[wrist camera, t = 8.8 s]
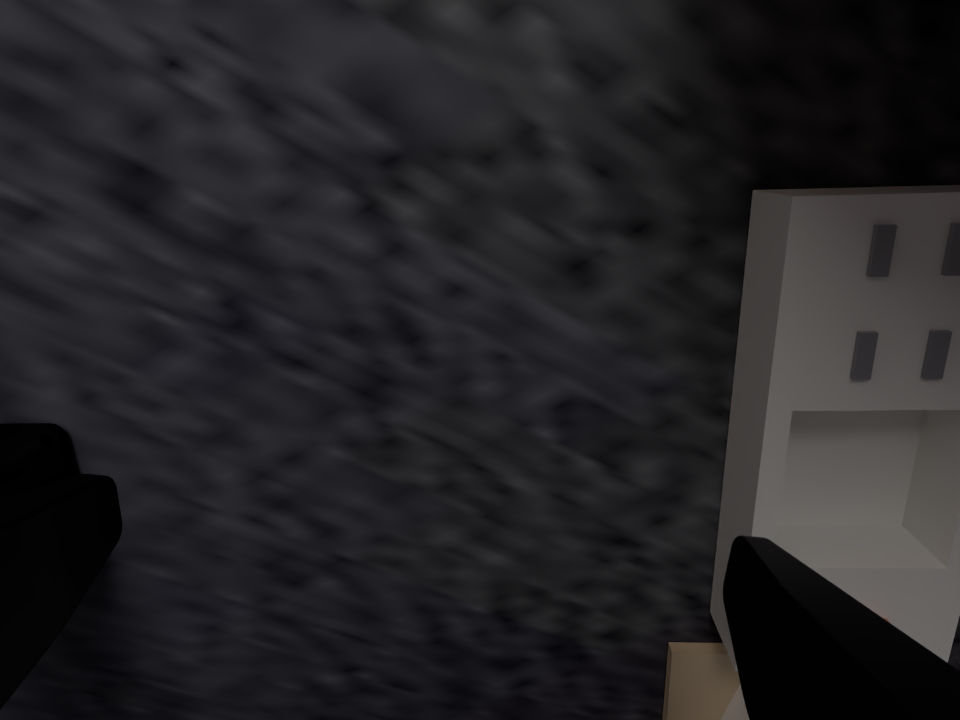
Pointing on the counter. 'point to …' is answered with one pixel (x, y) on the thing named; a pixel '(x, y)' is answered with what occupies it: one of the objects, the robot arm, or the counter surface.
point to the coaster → (698, 681)
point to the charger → (736, 708)
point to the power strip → (851, 399)
